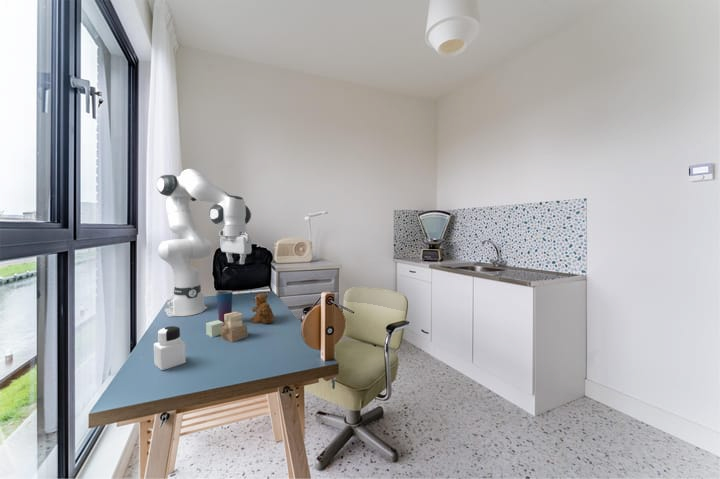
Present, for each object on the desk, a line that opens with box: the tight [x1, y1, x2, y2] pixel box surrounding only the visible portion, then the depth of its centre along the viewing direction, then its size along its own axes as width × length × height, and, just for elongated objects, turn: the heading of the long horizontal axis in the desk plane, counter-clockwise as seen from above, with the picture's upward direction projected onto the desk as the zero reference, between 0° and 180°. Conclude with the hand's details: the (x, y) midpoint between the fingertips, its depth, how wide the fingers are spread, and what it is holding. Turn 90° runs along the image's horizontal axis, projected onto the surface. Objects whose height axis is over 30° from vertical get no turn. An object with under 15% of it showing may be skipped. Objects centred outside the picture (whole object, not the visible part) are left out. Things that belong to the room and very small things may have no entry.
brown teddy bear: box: [249, 293, 275, 325], centre depth 140 cm, size 10×14×13 cm
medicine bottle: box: [153, 325, 187, 371], centre depth 97 cm, size 7×7×12 cm
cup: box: [215, 290, 234, 326], centre depth 136 cm, size 7×7×15 cm
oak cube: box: [224, 311, 243, 329], centre depth 120 cm, size 5×5×5 cm
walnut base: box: [220, 323, 248, 343], centre depth 120 cm, size 7×7×5 cm
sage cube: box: [205, 319, 224, 338], centre depth 124 cm, size 5×5×5 cm
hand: (236, 263), depth 130 cm, fingers open, 8 cm apart
